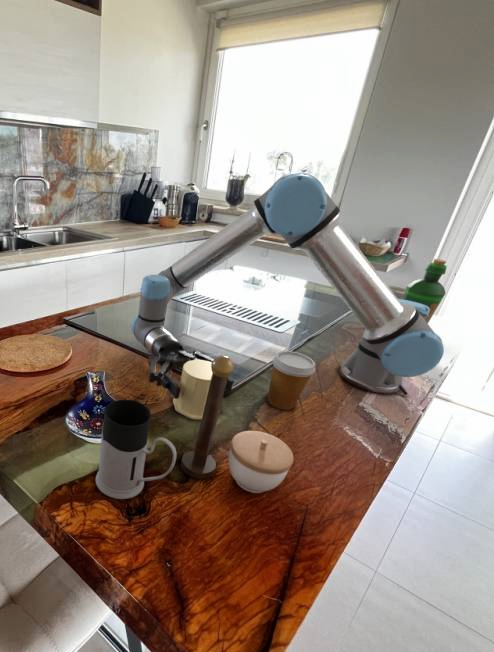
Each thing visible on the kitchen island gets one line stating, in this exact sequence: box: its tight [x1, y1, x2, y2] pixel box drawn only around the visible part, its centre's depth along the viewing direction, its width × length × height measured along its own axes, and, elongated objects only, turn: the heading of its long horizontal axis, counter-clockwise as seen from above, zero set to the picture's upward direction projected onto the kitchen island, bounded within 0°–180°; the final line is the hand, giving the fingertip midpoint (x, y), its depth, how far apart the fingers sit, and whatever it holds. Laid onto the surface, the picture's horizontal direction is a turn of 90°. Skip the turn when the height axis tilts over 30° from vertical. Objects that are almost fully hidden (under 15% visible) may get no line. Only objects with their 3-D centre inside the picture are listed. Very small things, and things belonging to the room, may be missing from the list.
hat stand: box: [180, 355, 235, 480], centre depth 73 cm, size 6×6×24 cm
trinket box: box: [227, 430, 294, 494], centre depth 74 cm, size 11×11×9 cm
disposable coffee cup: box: [266, 350, 316, 411], centre depth 98 cm, size 10×10×12 cm
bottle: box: [402, 258, 448, 325], centre depth 134 cm, size 11×11×28 cm
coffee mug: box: [387, 284, 406, 299], centre depth 166 cm, size 13×10×10 cm
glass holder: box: [95, 399, 178, 500], centre depth 69 cm, size 9×14×15 cm, turn 50°
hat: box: [172, 360, 221, 421], centre depth 94 cm, size 10×10×10 cm
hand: (205, 389), depth 92 cm, fingers open, 13 cm apart
